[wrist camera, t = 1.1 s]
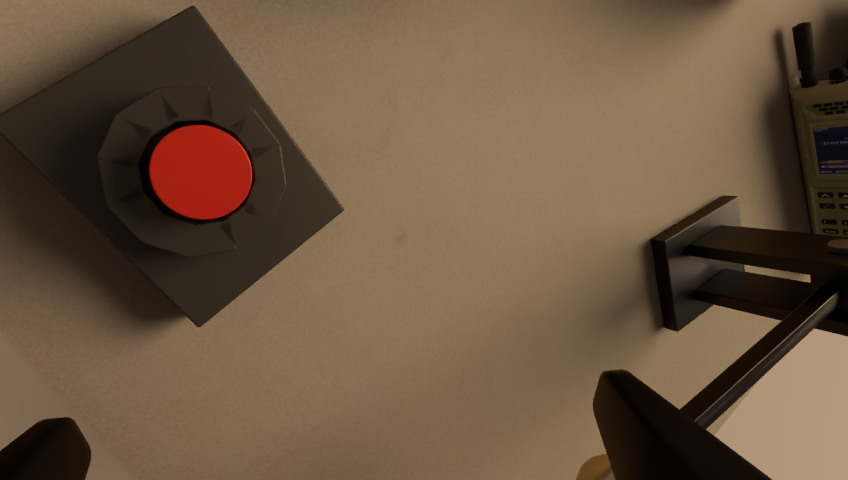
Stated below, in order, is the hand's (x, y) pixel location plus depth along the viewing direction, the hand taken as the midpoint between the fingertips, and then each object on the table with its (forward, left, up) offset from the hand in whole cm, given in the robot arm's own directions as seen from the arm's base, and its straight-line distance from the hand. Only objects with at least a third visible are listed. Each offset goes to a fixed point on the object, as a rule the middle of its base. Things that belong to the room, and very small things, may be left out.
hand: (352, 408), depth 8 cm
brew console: (+1, +4, -16) cm, 16 cm away
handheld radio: (+47, -26, -16) cm, 56 cm away
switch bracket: (+28, -24, -16) cm, 40 cm away
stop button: (+1, +4, -12) cm, 13 cm away
